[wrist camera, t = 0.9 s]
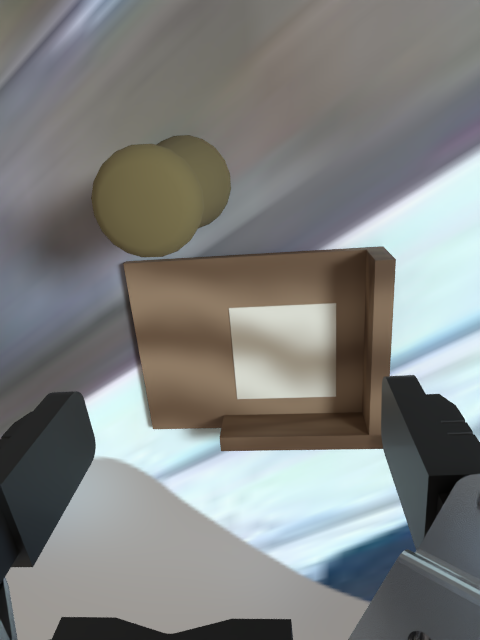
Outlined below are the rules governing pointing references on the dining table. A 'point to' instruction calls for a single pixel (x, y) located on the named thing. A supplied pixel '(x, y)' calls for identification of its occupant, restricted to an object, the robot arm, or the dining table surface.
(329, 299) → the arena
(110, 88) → the dining table surface
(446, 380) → the dining table surface
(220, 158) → the olive double-lobed piece
